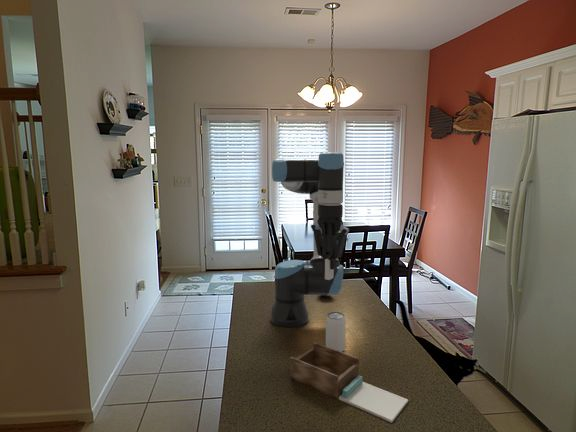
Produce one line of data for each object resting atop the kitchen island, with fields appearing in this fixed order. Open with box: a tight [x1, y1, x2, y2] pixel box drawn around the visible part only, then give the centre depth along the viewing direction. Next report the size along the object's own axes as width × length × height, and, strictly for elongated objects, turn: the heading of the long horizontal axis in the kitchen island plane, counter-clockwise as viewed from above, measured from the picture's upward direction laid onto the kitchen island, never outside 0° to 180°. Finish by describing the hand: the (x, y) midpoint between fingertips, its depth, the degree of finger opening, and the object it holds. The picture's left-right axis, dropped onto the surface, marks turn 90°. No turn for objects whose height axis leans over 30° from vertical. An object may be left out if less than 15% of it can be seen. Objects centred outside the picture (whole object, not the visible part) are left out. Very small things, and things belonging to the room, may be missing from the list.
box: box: [289, 341, 360, 400], centre depth 114 cm, size 16×12×6 cm
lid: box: [338, 374, 409, 423], centre depth 104 cm, size 15×10×3 cm
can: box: [325, 311, 346, 353], centre depth 131 cm, size 6×6×12 cm
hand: (329, 278), depth 122 cm, fingers closed
